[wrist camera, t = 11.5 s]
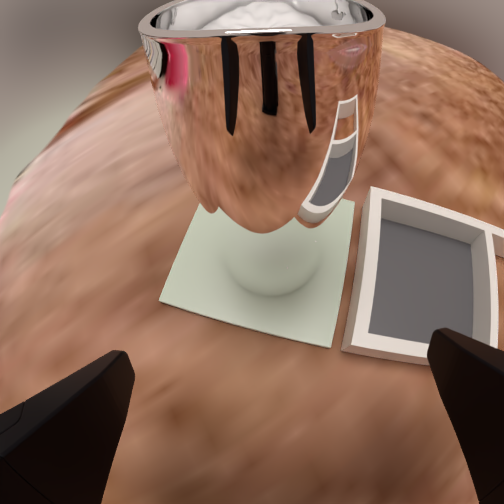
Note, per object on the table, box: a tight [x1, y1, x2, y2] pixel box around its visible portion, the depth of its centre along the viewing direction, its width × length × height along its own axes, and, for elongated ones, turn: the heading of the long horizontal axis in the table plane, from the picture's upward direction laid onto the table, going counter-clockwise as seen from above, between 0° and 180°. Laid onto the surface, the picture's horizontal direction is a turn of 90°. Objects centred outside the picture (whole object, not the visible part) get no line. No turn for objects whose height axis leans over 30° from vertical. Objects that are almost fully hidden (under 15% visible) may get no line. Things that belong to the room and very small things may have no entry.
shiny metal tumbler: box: [138, 0, 386, 296], centre depth 12 cm, size 7×7×15 cm
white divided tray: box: [159, 186, 504, 366], centre depth 16 cm, size 32×11×2 cm, turn 74°
